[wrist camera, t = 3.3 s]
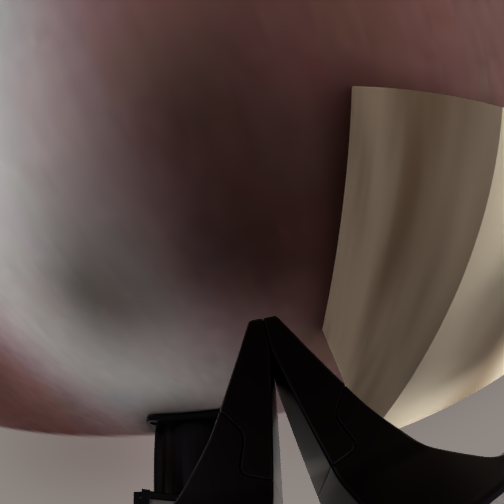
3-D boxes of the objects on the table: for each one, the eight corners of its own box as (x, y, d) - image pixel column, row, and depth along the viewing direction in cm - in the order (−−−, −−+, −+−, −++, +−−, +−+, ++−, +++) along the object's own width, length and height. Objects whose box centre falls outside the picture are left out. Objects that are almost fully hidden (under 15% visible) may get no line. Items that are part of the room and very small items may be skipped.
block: (321, 327, 15) (366, 439, 9) (349, 86, 9) (502, 107, 3) (450, 300, 16) (506, 372, 10) (498, 125, 10) (597, 171, 4)
